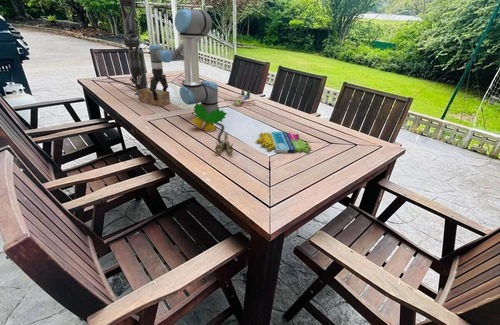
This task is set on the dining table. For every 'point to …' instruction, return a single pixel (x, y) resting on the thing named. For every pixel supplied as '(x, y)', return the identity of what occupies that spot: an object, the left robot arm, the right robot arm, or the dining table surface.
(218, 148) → the jawbone
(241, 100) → the toy
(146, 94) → the wooden recessed-top box
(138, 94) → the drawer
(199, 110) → the ornament
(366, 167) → the dining table surface
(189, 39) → the right robot arm
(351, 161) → the dining table surface
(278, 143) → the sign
